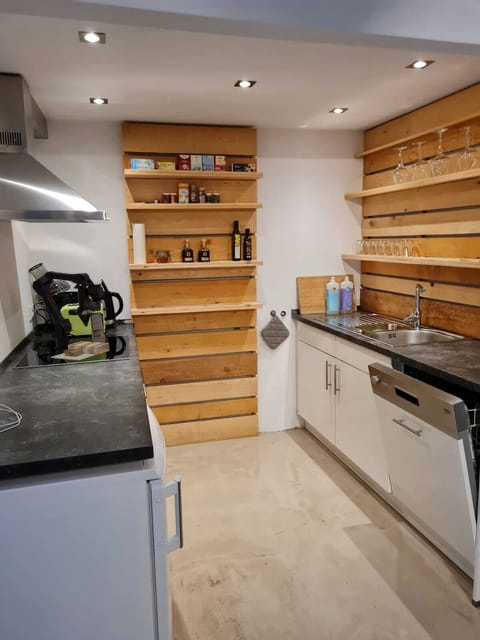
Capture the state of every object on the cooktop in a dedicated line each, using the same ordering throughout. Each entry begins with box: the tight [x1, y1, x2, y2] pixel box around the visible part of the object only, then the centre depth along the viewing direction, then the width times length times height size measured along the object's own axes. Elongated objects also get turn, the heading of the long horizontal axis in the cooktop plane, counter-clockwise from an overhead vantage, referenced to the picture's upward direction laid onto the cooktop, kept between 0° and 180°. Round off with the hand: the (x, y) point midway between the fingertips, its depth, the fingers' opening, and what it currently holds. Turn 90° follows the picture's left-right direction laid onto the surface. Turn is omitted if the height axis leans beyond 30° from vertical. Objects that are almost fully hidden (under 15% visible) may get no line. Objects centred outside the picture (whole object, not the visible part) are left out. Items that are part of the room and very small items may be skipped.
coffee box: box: [89, 311, 106, 343], centre depth 277 cm, size 9×6×16 cm
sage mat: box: [50, 352, 96, 361], centre depth 239 cm, size 18×11×1 cm, turn 66°
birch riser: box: [67, 340, 110, 356], centre depth 249 cm, size 18×10×4 cm, turn 66°
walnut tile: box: [63, 349, 83, 357], centre depth 240 cm, size 7×5×2 cm
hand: (86, 326), depth 256 cm, fingers closed
